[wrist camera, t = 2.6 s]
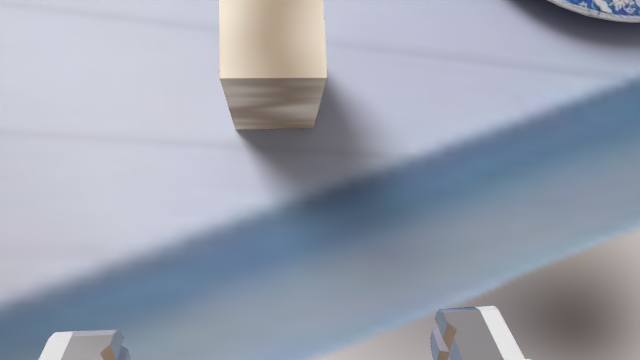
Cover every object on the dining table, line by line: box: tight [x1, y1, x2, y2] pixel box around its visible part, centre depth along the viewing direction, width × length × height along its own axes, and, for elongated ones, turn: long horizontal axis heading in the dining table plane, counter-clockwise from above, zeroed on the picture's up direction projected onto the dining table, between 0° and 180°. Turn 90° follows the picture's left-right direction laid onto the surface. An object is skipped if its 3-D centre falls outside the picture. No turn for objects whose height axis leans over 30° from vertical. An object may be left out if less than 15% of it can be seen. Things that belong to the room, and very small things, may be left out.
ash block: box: [219, 0, 327, 130], centre depth 25 cm, size 5×5×8 cm
